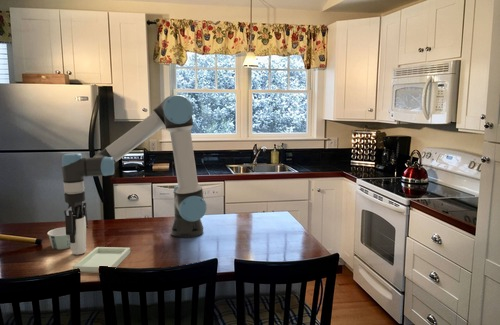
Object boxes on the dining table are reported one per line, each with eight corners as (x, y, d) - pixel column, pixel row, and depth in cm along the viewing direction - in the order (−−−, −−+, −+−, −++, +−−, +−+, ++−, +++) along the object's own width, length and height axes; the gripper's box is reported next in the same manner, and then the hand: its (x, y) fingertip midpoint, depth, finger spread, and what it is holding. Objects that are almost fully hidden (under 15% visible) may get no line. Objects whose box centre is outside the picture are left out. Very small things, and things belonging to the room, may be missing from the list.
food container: (67, 251, 166) (66, 236, 165) (42, 249, 168) (40, 234, 167) (84, 241, 178) (83, 227, 177) (60, 240, 180) (59, 226, 179)
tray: (130, 252, 164) (130, 247, 164) (110, 273, 144) (110, 267, 144) (97, 252, 165) (96, 247, 165) (73, 272, 145) (72, 266, 145)
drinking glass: (81, 256, 159) (78, 220, 157) (66, 255, 161) (63, 219, 159) (91, 250, 166) (88, 215, 164) (76, 249, 167) (74, 214, 165)
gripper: (77, 186, 169) (81, 238, 173) (52, 197, 150) (57, 255, 154) (94, 186, 169) (97, 239, 172) (71, 197, 150) (76, 256, 153)
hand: (78, 246), depth 163 cm, fingers closed on drinking glass, 6 cm apart
